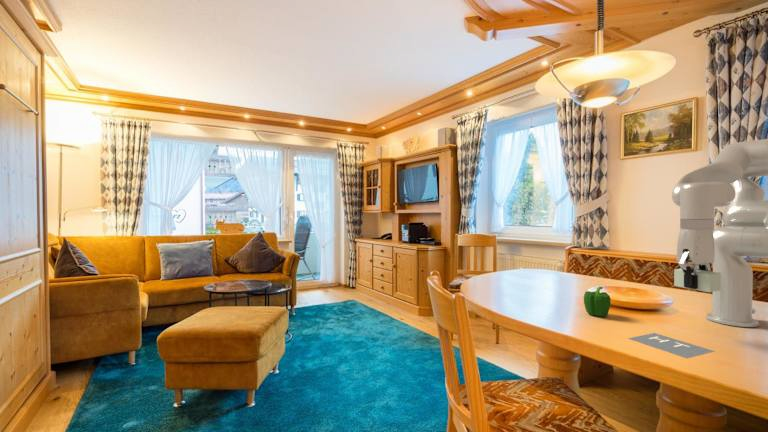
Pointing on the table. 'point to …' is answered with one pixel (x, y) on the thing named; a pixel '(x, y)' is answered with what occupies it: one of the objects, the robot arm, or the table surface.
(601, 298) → the bell pepper
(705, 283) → the sage block
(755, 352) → the table surface
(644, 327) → the table surface
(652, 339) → the card
